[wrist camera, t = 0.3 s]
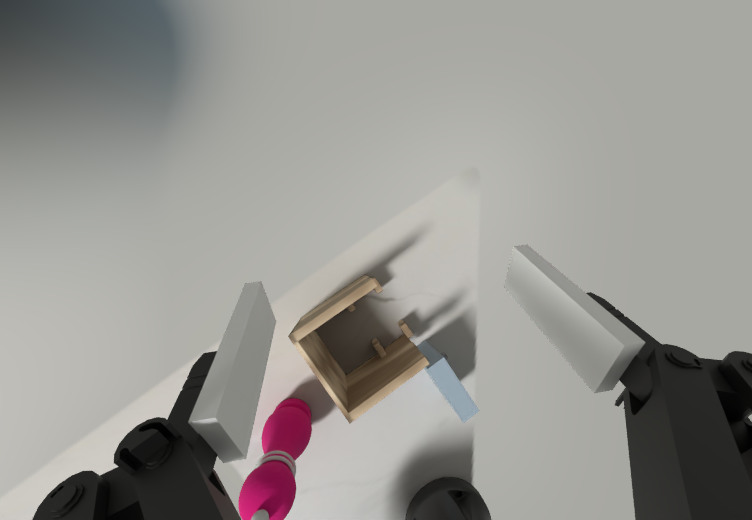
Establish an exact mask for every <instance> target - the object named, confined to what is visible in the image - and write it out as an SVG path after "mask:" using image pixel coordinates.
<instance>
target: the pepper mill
mask: <svg viewBox="0 0 752 520" xmlns="http://www.w3.org/2000/svg"><path fill="white" fill-rule="evenodd" d="M310 421H311V411H310V408H309V407H308V405H307V404H306V403H305V402H304V401H302V400H300V399H296V398H291V399H287V400H284V401H283V402H281V403H280V404H279V405H278V406H277V407H276V409H275V411H274V413H273V414H272V415H271V416H270V417H269V418H268V420H267V421H266V423H265V426H264V429H263V433H262V447H263V451H264V454H265V455H263V456H262V457H261V458H260V459H259V460H258V462H257V464H256V466H255V469H254V470H253V471H252V472H251V473H250V474H249V476H248V477H247V479H246V480H245V482H244V484H243V486H242V489H241V492H240V496H239V512H240V516H241V518H242V520H284V518H285V517H286V516H287V514H288V513H289V511H290V509H291V507H292V505H293V502H294V499H295V493H296V482H295V474H296V465H295V462H294V461H295V460H296V459H297V458H298V457H299V456H300V455H301V454H302V453H303V451H304V450H305V448H306V447H307V445H308V443H309V440H310V437H311V431H312V427H311V422H310Z"/></svg>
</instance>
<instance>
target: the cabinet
mask: <svg viewBox="0 0 752 520" xmlns="http://www.w3.org/2000/svg"><path fill="white" fill-rule="evenodd" d="M373 289H375V291H376V292H377V293H379V292H381V291H382V290H383V289H382V288H381V286H380V285H379V283H378V282H377V280H376V279H375V278H374V277H372V278H370V277H368V276H366V275H363V276H362V277H360V278H359V279H357V280H356V281H354V282H353V283H351V284H350V285H349V286H347V287H346V288H344V289H343V290H341V291H340V292H338V293H337V294H335V295H334V296H332V297H331V298H329V299H328V300H326V301H325V302H324V303H322V304H321V305H319V306H318V307H316V308H315V309H313V310H312V311H310V312H309V313H307V314H306V315H304V316H303V317H302V318H301V319H300V320H299V322H298V323H297V325H296V326H295V327H294V329H293V330H292V332H291V333H290V335H289V336H288V337H289V338H290V340H291V341H292V343H293V344H294V345H295V347H296V348H297V350H298V351H299V352H300V354H301V355H302V357H303V358H304V360H305V361H306V362H307V364H308V365H309V367H310V368H311V369H312V371H313V372H314V374H315V375H316V376H317V378H318V379H319V381H320V382H321V384H322V385H323V386H324V388H325V389H326V391H327V392H328V393H329V395H330V396H331V398H332V399H333V400H334V402H335V403H336V405H337V406H338V408H339V409H340V410H341V412H342V413H343V415H344V416H345V417H346V419H347V420H348V422H349V423H351V422H352V421H354V420H355V419H356V418H358V417H359V416H360V415H362V414H363V413H364V412H366V411H367V410H369V409H370V408H371V407H373V406H374V405H375V404H377V403H378V402H379V401H381V400H382V399H383V398H385V397H386V396H387V395H389V394H390V393H391V392H393V391H394V390H395V389H397V388H398V387H399V386H401V385H402V384H403V383H405V382H406V381H407V380H409V379H410V378H411V377H413V376H414V375H415V374H417V373H418V372H419V371H421V370H422V369H423V368H425V367H426V366H428V365H429V360H428V359H427V358H426V356H425V355H424V354H423V353H421V352H420V351H419V350H418V348H417V346H416V345H415V344H414V343H413V342H411V341H410V340H409V338H410V337H411V336H413V334H412V332H411V331H410V329H409V328H408V326H407V325H406V323H405V322H404V321H403V320H400V321H399V322H398V323H397V324H398V325H399V327H400V328H401V330H402V331H403V333H404V335H402V336H401V337H399V338H398V339H397V340H395V341H394V342H393V343H391V344H390V345H388V346H387V347H386V348H383V347H382V346H381V344H380V343H379V341H378V340H377V338H375V339H374V340H373V341H372V344H373V346H374V348H375V349H376V351H377V352H378V353H377V354H376V355H375V356H373V357H372V358H370V359H369V360H368V361H366V362H365V363H364V364H362V365H361V366H359V367H358V368H357V369H355V370H354V371H352V372H351V373H350V374H348V375H347V376H346V375H345V373H344V372H343V370H342V369H341V367H340V366H339V365H338V363H337V362H336V360H335V359H334V357H333V356H332V354H331V353H330V352H329V350H328V349H327V347H326V346H325V344H324V343H323V342H322V340H321V339H320V337H319V336H318V334H317V333H316V332H315V329H316V328H318V327H319V326H320V325H322V324H323V323H325V322H326V321H328V320H329V319H331V318H332V317H334V316H335V315H336V314H338V313H339V312H341V311H342V310H344V309H345V308H348V310H349V311H350V313H351V312H352V311H354V310H355V306H354V305H353V303H354V302H355V301H357V300H358V299H360V298H361V297H362V296H364V295H365V294H367V293H368V292H370V291H371V290H373Z"/></svg>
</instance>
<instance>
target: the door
mask: <svg viewBox="0 0 752 520" xmlns="http://www.w3.org/2000/svg"><path fill="white" fill-rule="evenodd" d="M417 348H418V350H419V351H420V352H421V353H423V354H424V355H425V356H426V358H427V359H428V360H429V365H428V366H426V367H425V368H424V369H425V370H426V372H427V373H428V375H429V376H430V378H431V379H432V381H433V382H434V384H435V385H436V386H437V388H438V389H439V391H440V392H441V394H442V395H443V397H444V398H445V399H446V400H447V402H448V403H449V404H450V406H451V407H452V408H453V410H454V411H455V412H456V414H457V415H458V416H459V417H460V419H461V420H462V421H463V423H464V422H466V421H467V420H468V419H469V418H471V417H472V416H473V415H475V414H476V413H477V412H478V411H479V409H478V408H477V406H476V405H475V403H474V402H473V400H472V399H471V397H470V396H469V394H468V393H467V391H466V390H465V388H464V387H463V385H462V384H461V382H460V381H459V379H458V378H457V376H456V375H455V373H454V372H453V370H452V369H451V367H450V366H449V364H448V363H447V361H446V359H447V358H448V357H447V356H446V354H445V353H443V354H440V353H439V352H438V351H437V350H436V349H434V348H433V347H432V346H431V345H430V344H429V343H428V342H427V341H426V340H425V341H423V342H422V343H421V344H419V345H418V346H417Z"/></svg>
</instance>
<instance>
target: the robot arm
mask: <svg viewBox="0 0 752 520" xmlns="http://www.w3.org/2000/svg"><path fill="white" fill-rule="evenodd" d="M504 288H505V289H506V290H507V291H508V292H509V293H510V295H511V296H512V297H513V298H514V299H515V300H516V302H517V303H518V304H519V305H520V306H521V307H522V309H523V310H524V311H525V312H526V314H527V315H528V316H529V317H530V318H531V319H532V321H533V322H534V323H535V324H536V325H537V326H538V328H539V329H540V330H541V331H542V332H543V334H544V335H545V336H546V337H547V338H548V339H549V340H550V342H551V343H552V344H553V345H554V346H555V348H556V349H557V350H558V351H559V352H560V353H561V354H562V356H563V357H564V358H565V359H566V361H567V362H568V363H569V364H570V365H571V366H572V368H573V369H574V370H575V371H576V372H577V374H578V375H579V376H580V377H581V378H582V379H583V380H584V382H585V383H586V384H587V385H588V386H589V388H590V389H591V390H592V391H593V392H594V393H597V392H603V391H609V390H613V388H614V387H615V385H616V384H617V382H618V381H619V380H620V381H621V382H622V383H623V384H624V386H625V387H626V388H625V389H624V391H623V392H622V393H621V395H620V396H619V397H618V399H617V400H616V403H615V405H616V406H619V405H620V404H621V403H622V401H624V409H625V417H626V428H627V438H628V447H629V458H630V467H631V478H632V488H633V498H634V508H635V518H636V520H752V422H751V421H750V419H749V418H748V416H749V415H751V414H752V354H750V353H746V352H739V351H734V352H731V353H729V354H728V355H727V356H726V357H725V358H724V359H723V360H713V359H704V358H698V357H697V356H696V355H694V354H693V353H691V352H689V351H687V350H685V349H683V348H680V347H677V346H674V345H668V344H664V345H662V344H660V343H659V342H658V341H656V340H655V339H654V338H653V337H651V336H650V335H649V334H648V333H646V332H645V331H644V330H642V329H641V328H640V327H639V326H638V325H636V324H635V323H634V322H632V321H631V320H630V319H629V318H627V317H625V316H624V314H622V313H621V312H620V311H619V310H616V309H615V307H613V306H612V305H611V304H610V303H609V302H607V301H606V300H605V299H603V298H601V297H599V296H597V295H595V294H593V293H591V292H590V293H585V292H584V291H583V290H582V289H580V288H579V287H578V286H577V285H575V284H574V283H573V282H572V281H571V280H569V279H568V278H567V277H566V276H564V275H563V274H562V273H561V272H560V271H559V270H557V269H556V268H555V267H554V266H552V265H551V264H550V263H549V262H548V261H546V260H545V259H544V258H543V257H542V256H540V255H539V254H538V253H537V252H536V251H534V250H533V249H532V248H531V247H529V246H528V245H521V246H514V248H513V251H512V256H511V260H510V264H509V268H508V272H507V277H506V281H505V285H504ZM275 324H276V320H275V317H274V314H273V312H272V309H271V306H270V304H269V301H268V298H267V296H266V293H265V290H264V288H263V285H262V282H261V281H260V282H253V283H246V284H245V285H244V288H243V290H242V293H241V295H240V298H239V300H238V303H237V305H236V307H235V310H234V312H233V315H232V317H231V320H230V322H229V324H228V327H227V329H226V331H225V334H224V336H223V339H222V341H221V344H220V346H219V348H218V351H215V352H209V353H204V354H203V355H202V356H201V357H200V358H199V359H198V360H197V362H196V363H195V364H194V365H193V367H192V369H191V371H190V373H189V375H188V377H187V378H188V379H187V380H186V382H185V384H184V386H183V388H182V389H183V390H182V391H181V392H180V394H179V396H178V398H177V400H176V403H175V405H174V407H173V409H172V411H171V413H170V415H169V417H168V419H167V420H166V419H165V418H159V417H157V418H153V419H149V420H147V421H145V422H143V423H141V424H139V425H138V426H136V427H135V428H134V429H133V430H132V431H130V432H129V433H128V434H127V435H126V436H125V437H124V439H123V440H122V441H121V442H120V444H119V445H118V448H117V450H116V452H115V454H114V463H115V464H116V465H117V466H119V467H117V468H115V469H113V470H111V471H109V472H107V473H105V474H102V475H100V476H99V475H98V474H96V473H95V472H93V471H82V472H80V473H77V474H75V475H72V476H71V477H69V478H68V479H66V480H65V481H63V482H62V483H60V484H59V485H58V486H57V487H56V488H55V489H54V490H52V491H51V492H50V493H49V494H48V495H47V497H46V498H45V499H44V500H43V502H42V503H41V504H40V506H39V507H38V509H37V511H36V513H35V515H34V517H33V520H241V518H240V516H239V515H238V512H237V511H236V509H235V507H234V505H233V503H232V501H231V499H230V498H229V496H228V494H227V492H226V490H225V488H224V486H223V484H222V483H221V481H220V479H219V477H218V475H217V473H216V472H215V470H214V469H213V468H214V464H215V461H216V457H217V456H218V457H219V459H220V460H221V461H222V462H223V463H226V462H231V461H236V460H242V459H246V456H247V452H248V447H249V443H250V438H251V433H252V429H253V424H254V420H255V415H256V411H257V406H258V401H259V397H260V392H261V388H262V383H263V379H264V374H265V369H266V365H267V360H268V356H269V351H270V347H271V342H272V338H273V333H274V328H275ZM406 520H491V516H490V513H489V510H488V508H487V506H486V504H485V502H484V500H483V499H482V497H481V495H480V494H479V492H478V491H477V490H476V489H475V488H474V487H473V486H472V485H471V484H470V483H468V482H466V481H464V480H461V479H458V478H442V479H438V480H435V481H433V482H431V483H429V484H428V485H426V486H425V487H423V488H422V489H421V490H420V491H419V492H418V493H417V494H416V496H415V497H414V498H413V500H412V502H411V503H410V505H409V508H408V511H407V514H406Z"/></svg>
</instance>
